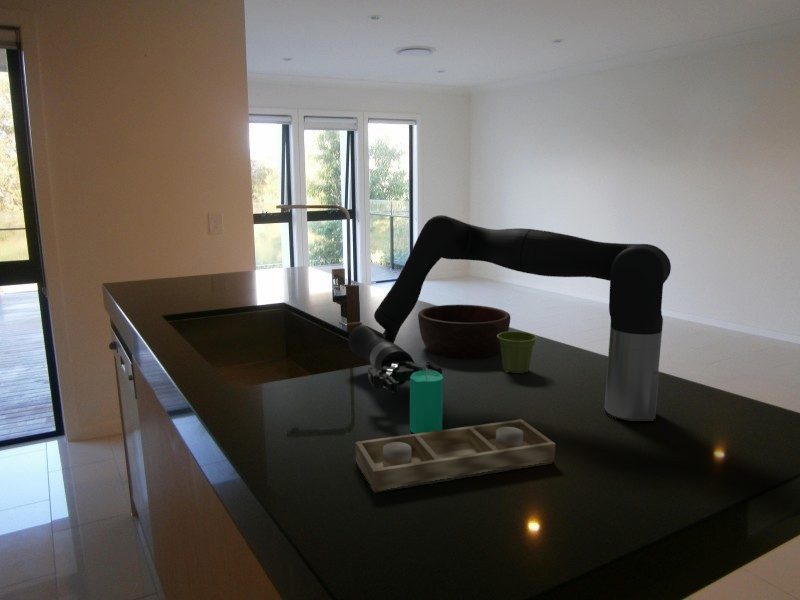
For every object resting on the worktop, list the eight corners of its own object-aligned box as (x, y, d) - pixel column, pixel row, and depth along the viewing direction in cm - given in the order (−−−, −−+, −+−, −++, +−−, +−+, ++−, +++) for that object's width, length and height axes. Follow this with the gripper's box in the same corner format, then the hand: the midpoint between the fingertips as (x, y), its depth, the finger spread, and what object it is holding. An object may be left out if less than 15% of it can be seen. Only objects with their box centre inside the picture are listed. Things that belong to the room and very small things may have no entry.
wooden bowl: (408, 358, 153) (409, 320, 151) (427, 335, 177) (427, 302, 175) (506, 365, 148) (507, 325, 146) (511, 341, 171) (513, 306, 170)
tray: (520, 437, 105) (521, 416, 104) (554, 463, 95) (555, 440, 94) (355, 462, 95) (355, 438, 94) (373, 493, 85) (373, 468, 85)
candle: (422, 421, 112) (423, 360, 110) (448, 429, 108) (450, 367, 106) (402, 431, 107) (403, 368, 105) (429, 440, 103) (430, 375, 101)
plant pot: (506, 378, 138) (507, 342, 136) (489, 366, 147) (490, 332, 145) (542, 374, 140) (544, 339, 139) (523, 363, 149) (525, 330, 148)
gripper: (358, 348, 123) (380, 370, 108) (422, 342, 128) (452, 363, 113) (359, 382, 125) (381, 409, 110) (422, 375, 129) (451, 400, 114)
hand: (417, 385), depth 111 cm, fingers open, 8 cm apart
